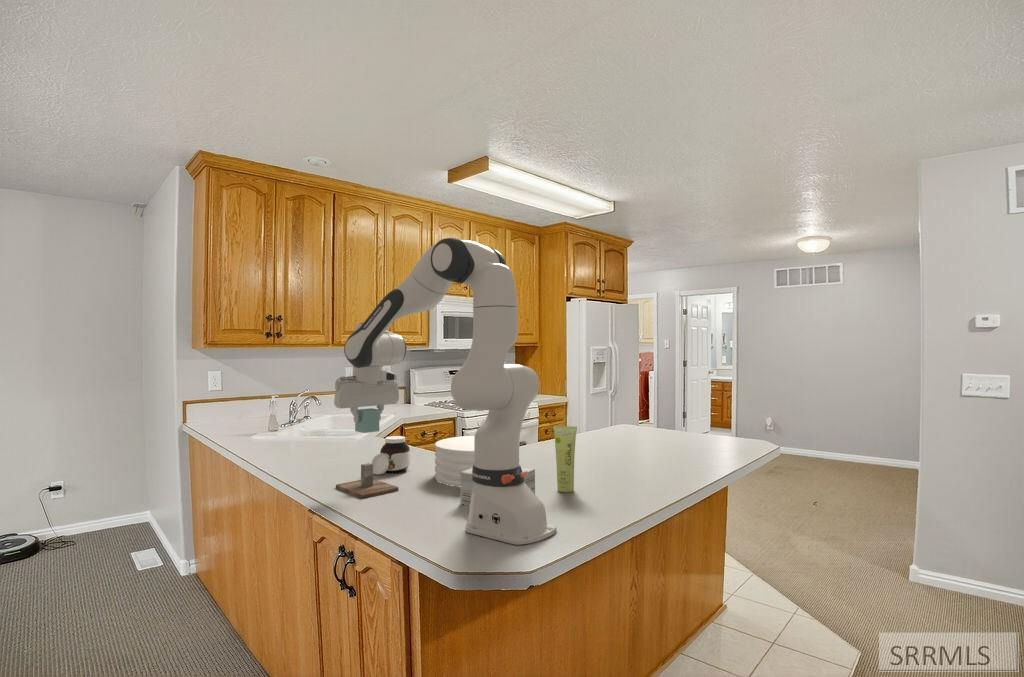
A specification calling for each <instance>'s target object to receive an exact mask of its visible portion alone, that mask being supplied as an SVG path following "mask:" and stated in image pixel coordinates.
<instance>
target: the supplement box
mask: <svg viewBox="0 0 1024 677" xmlns="http://www.w3.org/2000/svg"><path fill="white" fill-rule="evenodd" d="M521 469H522V472H525V471H527V473H526V474H524V475H528V476H525V477H524V479H525V481H524V482H525V484H526V485H527V486H528V487H529V488H530V489H531V491H532V492H533V493H534V494H535V495H536V469H535V468H526V467H521ZM472 470H473V468H470V469H468V470H465V471H462V472H461V473H460V476H461V487H460V498H459V499H460V502H459V504H460V505H461V504H464V505H463V506H466V505H470V501H471V494H472V491H473V486H474V481H473V480H472Z"/></svg>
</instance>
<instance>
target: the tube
mask: <svg viewBox="0 0 1024 677" xmlns="http://www.w3.org/2000/svg"><path fill="white" fill-rule="evenodd" d="M552 429H553V435H554V436H553V437H554V447H555V448H554V449H555V458H556V486H557V491H558V492H561V493H572V492H574V490H575V456H576V455H575V453H576V452H575V451H576V437H577V431H578V430H577V429H578V427H577V426H570V425H569V426H568V425H553V426H552Z"/></svg>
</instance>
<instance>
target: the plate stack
mask: <svg viewBox="0 0 1024 677" xmlns="http://www.w3.org/2000/svg"><path fill="white" fill-rule="evenodd" d="M474 437H475V435H464V436H461V435H460V436H454V437H447V438H443V439H439V440H437V441H435V444H434V448H435V452H434V456H435V460H434V472H435V474H434V479H436V480H437V481H439V482H441V483H444V484H448V485H453V486H452V487H454V486H461V476H460V473H461V472H462V471H465V470H468V469H470V468H473V465H474ZM436 480H435V481H436ZM437 481H436V482H437ZM439 482H438V483H439ZM441 483H440V484H441ZM444 484H443V485H444ZM448 485H447V486H448Z"/></svg>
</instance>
